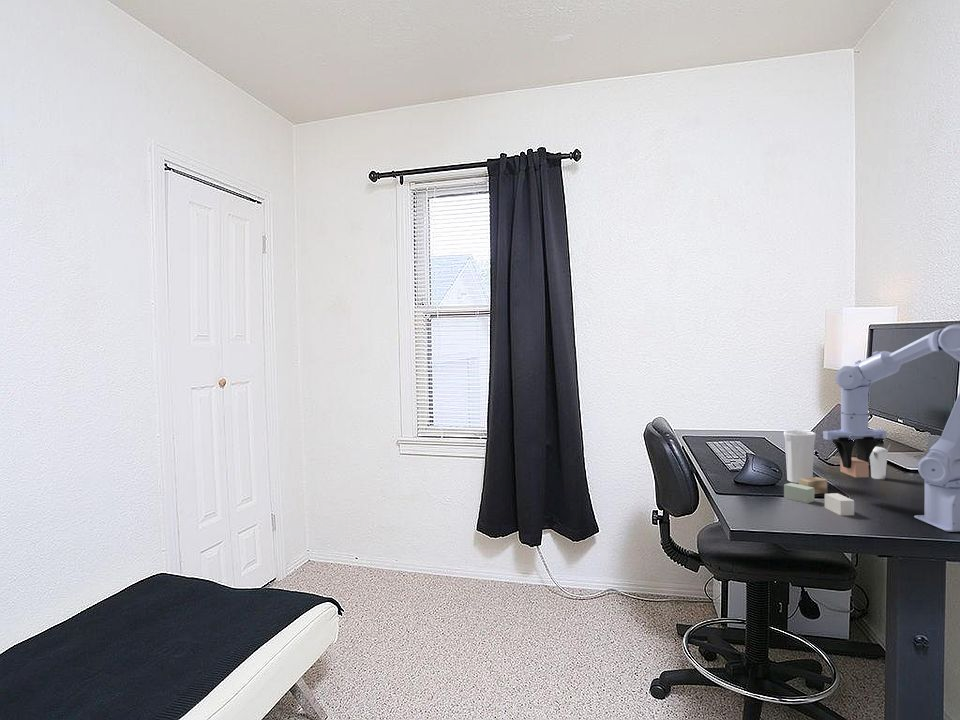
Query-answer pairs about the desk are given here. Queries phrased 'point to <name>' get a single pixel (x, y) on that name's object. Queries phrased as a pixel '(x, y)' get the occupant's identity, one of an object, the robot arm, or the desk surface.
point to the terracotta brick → (856, 468)
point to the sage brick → (799, 492)
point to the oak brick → (815, 484)
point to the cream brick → (839, 504)
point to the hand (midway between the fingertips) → (854, 467)
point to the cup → (799, 454)
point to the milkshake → (878, 462)
